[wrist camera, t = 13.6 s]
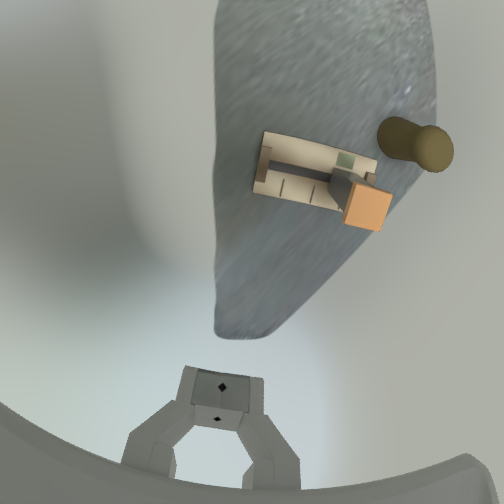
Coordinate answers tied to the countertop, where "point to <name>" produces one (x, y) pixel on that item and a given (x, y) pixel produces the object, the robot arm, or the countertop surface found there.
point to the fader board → (305, 169)
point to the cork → (416, 143)
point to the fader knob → (359, 200)
